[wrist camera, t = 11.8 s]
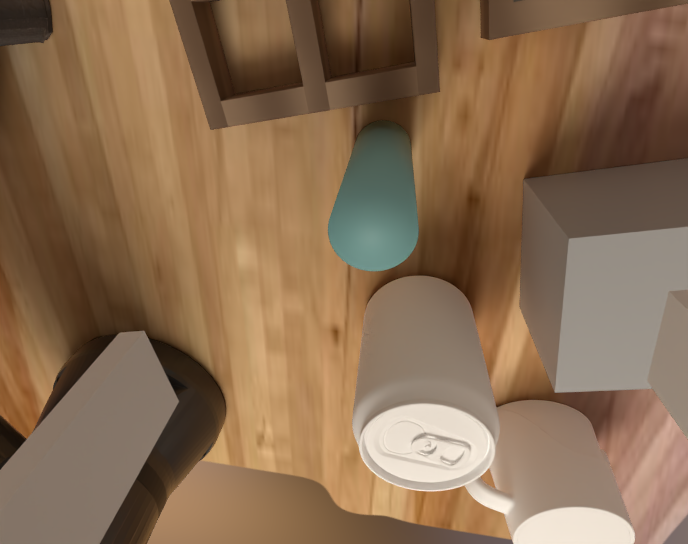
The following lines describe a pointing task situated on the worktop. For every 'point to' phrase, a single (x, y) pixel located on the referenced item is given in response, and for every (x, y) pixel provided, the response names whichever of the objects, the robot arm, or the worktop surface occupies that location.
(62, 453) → the robot arm
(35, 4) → the camera
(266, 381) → the worktop surface
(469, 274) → the worktop surface
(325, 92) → the board
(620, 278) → the cover
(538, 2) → the board
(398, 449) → the beverage can
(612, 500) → the mug
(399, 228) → the pin
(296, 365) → the worktop surface
